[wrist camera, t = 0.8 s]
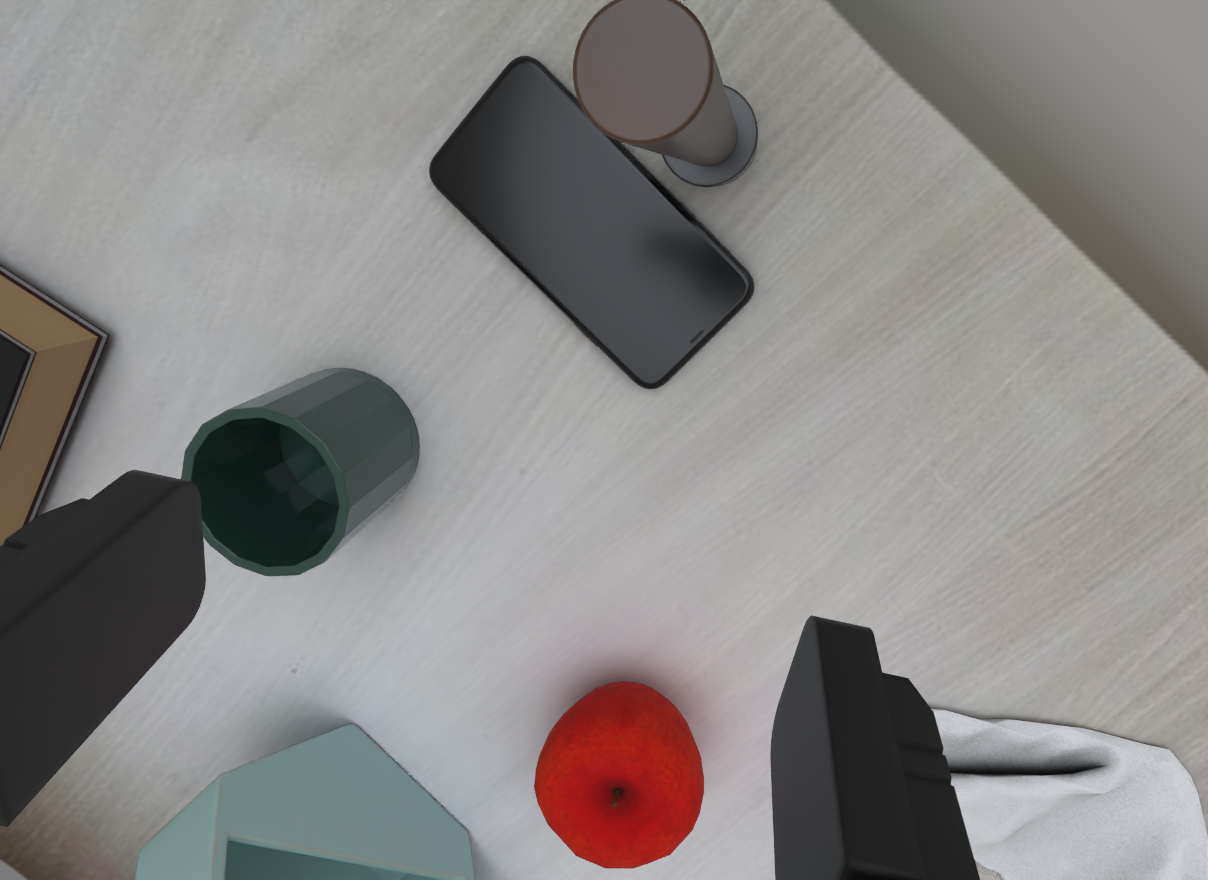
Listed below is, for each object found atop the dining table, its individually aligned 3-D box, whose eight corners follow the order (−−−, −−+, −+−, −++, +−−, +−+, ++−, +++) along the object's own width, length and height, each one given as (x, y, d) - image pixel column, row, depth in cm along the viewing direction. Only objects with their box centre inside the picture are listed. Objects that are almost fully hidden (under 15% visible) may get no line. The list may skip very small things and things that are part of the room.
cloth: (1321, 928, 47) (1348, 963, 45) (1093, 1031, 52) (1108, 1067, 49) (1026, 580, 45) (1040, 600, 43) (811, 719, 49) (813, 743, 47)
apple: (709, 790, 51) (702, 893, 44) (563, 779, 53) (531, 877, 45) (708, 654, 49) (700, 739, 41) (555, 647, 50) (520, 727, 43)
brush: (686, 86, 41) (561, -93, 14) (769, 110, 40) (796, -26, 14) (661, 172, 42) (502, 155, 16) (741, 196, 42) (717, 221, 15)
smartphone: (424, 173, 44) (651, 396, 45) (417, 173, 43) (649, 400, 44) (526, 46, 41) (764, 285, 43) (521, 43, 40) (764, 287, 42)
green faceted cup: (293, 348, 48) (193, 384, 39) (433, 394, 47) (363, 441, 39) (270, 482, 50) (171, 543, 42) (402, 527, 50) (330, 599, 41)
